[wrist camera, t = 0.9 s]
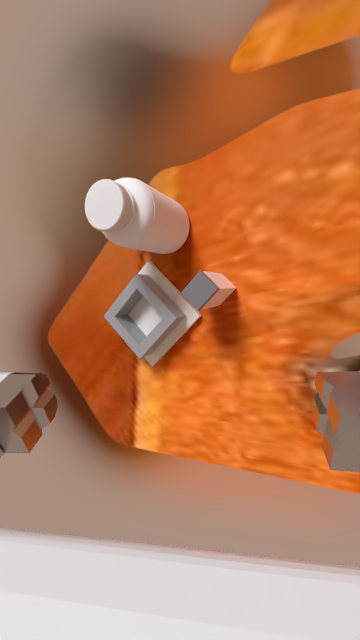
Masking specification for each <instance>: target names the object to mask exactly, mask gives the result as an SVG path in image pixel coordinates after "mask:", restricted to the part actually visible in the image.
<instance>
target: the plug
mask: <svg viewBox="0 0 360 640" xmlns="http://www.w3.org/2000/svg"><path fill="white" fill-rule="evenodd" d="M235 289H236V287H235V286H234V285H233V284H232V283H231V282H230V281H229V280H228V279H227V278H226V277H225V276H224V275H223V274H222V273H214V272H206V271H199V272H198V273H197V275H196V276H195V277H194V278H193V279H192V280H191V281H190V283H189V284H188V285H187V286H186V287H185V288H184V289H183V291H182V292H181V293H182V294H183V295H184V296H185V298H186V299H187V300H188V301H189V302H190V303H191V304H192V305H193V306H194V307H195V308H196V309H197V310H202V309H206V308H210V307H215V306H219V305H221V304H222V303H223V302H224V301H225V299H226V298H227V297H228V296H229V295H230V294H231V293H232V292H233V291H234V290H235Z"/></svg>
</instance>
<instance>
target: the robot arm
mask: <svg viewBox="0 0 360 640" xmlns="http://www.w3.org/2000/svg"><path fill="white" fill-rule="evenodd" d="M49 384H50V382H49V380H48V378H47V376H46V375H45V374H42V373H23V372H15V373H12V372H10V373H9V372H1V373H0V457H1V456H2V455H4V453H30V451H31V450H32V448H33V447H34V446H35V444H36V443H37V442H38V440H39V439H40V437H41V436H42V428H44V427H46V426H47V425H49V424H50V423H51V421H52V420H53V418H54V417H55V414H56V411H57V399H56V396H55V394H54V393H53V392H52V391H51V390H49V389H48V387H49ZM315 386H316V388H317V391H318V393H317V394H316V395H315V396H313V406H312V407H313V418H314V423H315V426H316V429H317V432H318V433H319V434H320V435H322V436H323V444H322V447H323V450H324V453H325V456H326V459H327V462H328V465H329V467H330V470H338V471H351V472H360V371H358V372H317V375H316V378H315ZM0 640H360V567H356V566H347V565H338V564H328V563H320V562H310V561H302V560H292V559H284V558H275V557H266V556H257V555H248V554H239V553H229V552H221V551H212V550H203V549H194V548H185V547H175V546H168V545H158V544H150V543H141V542H140V543H139V542H132V541H122V540H114V539H104V538H96V537H87V536H77V535H67V534H59V533H50V532H40V531H32V530H23V529H14V528H5V527H0Z"/></svg>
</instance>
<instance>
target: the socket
mask: <svg viewBox="0 0 360 640" xmlns="http://www.w3.org/2000/svg"><path fill="white" fill-rule="evenodd" d="M201 316H202V315H201V314H200V313H199V312H198V310H197V309H196V308H195V307H194V306H193V305H192V304H191V303H190V302H189V301H188V300H187V299H186V298H185V297H184V296H183V295H182V294H181V292H180V291H179V290H178V289H177V288H176V287H175V286H174V285H173V284H172V283H171V282H170V281H169V280H168V279H167V278H166V277H165V276H164V274H163V273H162V272H161V271H160V270H159V269H158V268H157V267H156V266H155V265H154V264H153V263H152V262H151V261H148V262H147V263H146V264H145V266H144V267H143V268H142V269H141V271H140V272H139V273H138V274H136V275H135V276H134V277H133V279H132V280H131V281H130V283H129V284H128V285H127V287H126V288H125V289H124V291H123V292H122V293H121V294H120V296H119V297H118V298H117V300H116V301H115V302H114V304H113V305H112V306H111V308H110V309H109V310H108V311H107V313H106V314H105V315H104V317H105V318H106V320H107V321H108V322H109V323H110V324H111V326H112V327H113V328H114V329H115V330H116V332H117V333H118V334H119V335H120V336H121V337H122V339H123V340H124V341H125V342H126V343H127V345H128V346H129V347H130V348H131V349H132V351H133V352H134V353H135V354H136V355H137V357H138V358H139V359H141V358H143V357H144V358H145V359H146V361H147V362H148V363H149V364H150V365H151V366H154V365H155V364H156V363H157V362H158V361H159V360H160V359H161V358H162V357H163V356H164V355H165V354H166V353H167V352H168V351H169V350H170V349H171V347H172V346H173V345H174V344H175V343H176V342H177V341H178V340H179V339H180V338H181V337H182V336H183V335H184V334H185V333H186V332H187V331H188V330H189V329H190V327H191V326H192V325H193V324H194V323H195V322H196V321H197V320H198V319H199V318H200V317H201Z"/></svg>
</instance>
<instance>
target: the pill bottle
mask: <svg viewBox="0 0 360 640" xmlns="http://www.w3.org/2000/svg"><path fill="white" fill-rule="evenodd" d="M85 212H86V216H87V219H88V221H89V222H90V224H91V225H92V226H93V227H94V228H96V229H97V230H100V231H102V232H103V234H104V235H105V236H106V238H107V239H108V240H110V241H111V242H112V243H114V244H115V245H118V246H121V247H126V248H131V249H137V250H142V251H148V252H153V253H159V254H169V253H172V252H175V251H176V250H178V249H179V248H180V247H181V246H182V245H183V244H184V243H185V241H186V239H187V237H188V234H189V228H190V224H189V218H188V215H187V213H186V211H185V209H184V208H183V207H182V206H181V205H180V204H179V203H177V202H176V201H174V200H172V199H171V198H169V197H167V196H165V195H164V194H162V193H160V192H159V191H157V190H155V189H154V188H152V187H150V186H148V185H147V184H145V183H143V182H142V181H140V180H137V179H134V178H121V179H118V180H115V181H112V180H109V179H104V180H100V181H98V182H96V183H95V184H94V185H93V186H92V187H91V188H90V190H89V191H88V194H87V196H86V200H85Z"/></svg>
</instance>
